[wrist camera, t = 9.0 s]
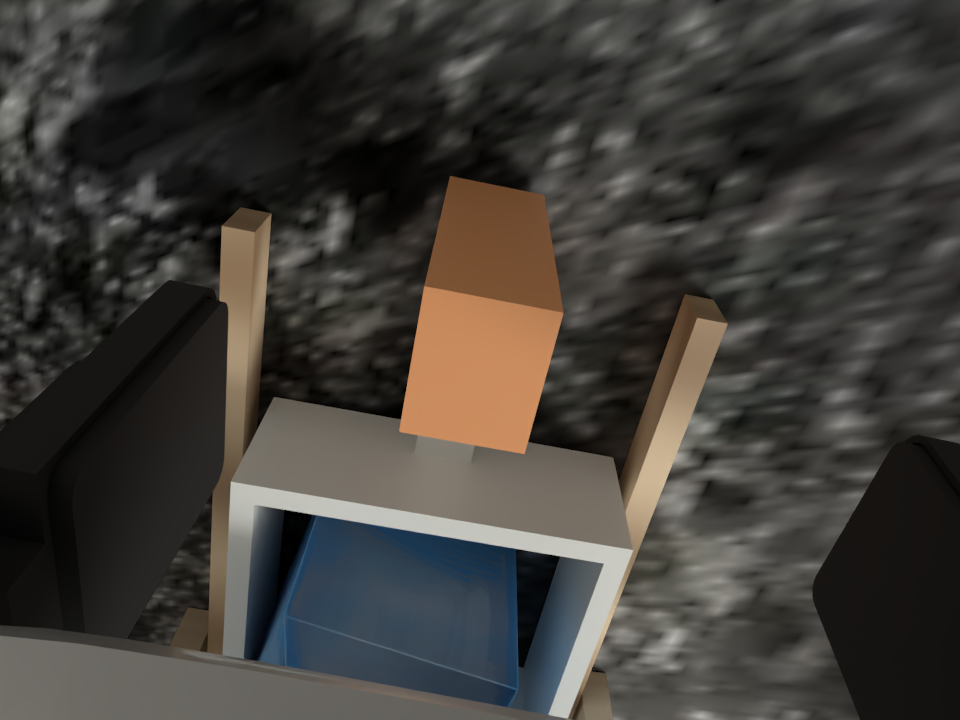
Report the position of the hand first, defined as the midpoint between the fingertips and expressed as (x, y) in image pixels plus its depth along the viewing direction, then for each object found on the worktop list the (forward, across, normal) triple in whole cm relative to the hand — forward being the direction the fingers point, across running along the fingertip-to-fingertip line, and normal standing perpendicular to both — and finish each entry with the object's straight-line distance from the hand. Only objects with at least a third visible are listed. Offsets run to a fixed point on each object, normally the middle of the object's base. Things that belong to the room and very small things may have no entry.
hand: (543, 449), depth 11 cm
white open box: (+10, +1, +8) cm, 13 cm away
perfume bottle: (+10, +2, +13) cm, 16 cm away
